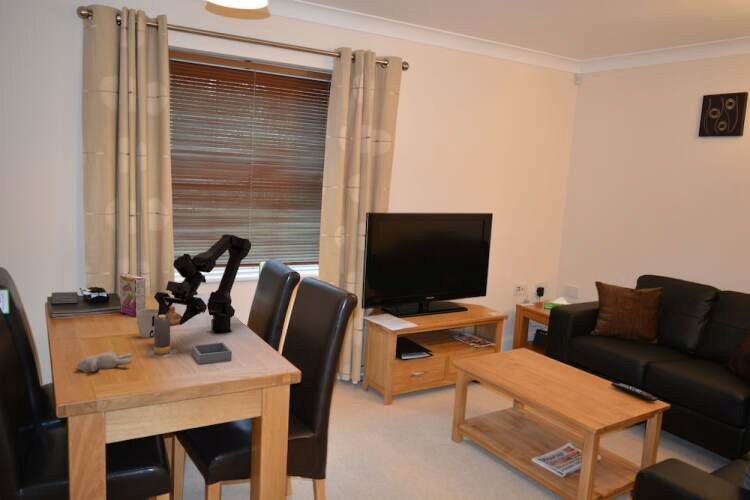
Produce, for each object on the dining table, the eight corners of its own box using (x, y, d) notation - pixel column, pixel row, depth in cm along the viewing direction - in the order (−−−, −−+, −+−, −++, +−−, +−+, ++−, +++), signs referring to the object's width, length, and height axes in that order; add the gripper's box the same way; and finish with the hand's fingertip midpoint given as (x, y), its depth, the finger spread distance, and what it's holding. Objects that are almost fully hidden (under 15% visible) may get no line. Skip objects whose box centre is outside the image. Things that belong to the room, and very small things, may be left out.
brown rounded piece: (149, 321, 232) (149, 303, 231) (178, 317, 239) (178, 300, 238) (157, 328, 223) (157, 310, 222) (187, 324, 230) (188, 307, 229)
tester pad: (174, 349, 198) (174, 346, 198) (180, 358, 190) (180, 355, 190) (144, 352, 193) (144, 350, 193) (148, 362, 185) (148, 359, 184)
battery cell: (168, 349, 195) (168, 313, 193) (171, 354, 190) (171, 316, 189) (152, 351, 192) (152, 314, 190) (155, 356, 188) (155, 318, 186)
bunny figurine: (81, 352, 179) (132, 345, 183) (83, 368, 180) (134, 360, 184) (74, 363, 170) (128, 355, 174) (76, 379, 171) (130, 371, 175)
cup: (152, 342, 205) (152, 315, 204) (132, 339, 207) (131, 313, 205) (164, 336, 213) (164, 310, 211) (145, 333, 214) (145, 307, 213)
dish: (222, 353, 197) (223, 342, 197) (231, 363, 188) (231, 351, 188) (191, 356, 192) (191, 345, 191) (198, 367, 183) (199, 355, 182)
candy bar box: (119, 312, 241) (118, 275, 238) (129, 310, 245) (129, 273, 243) (135, 317, 235) (135, 279, 233) (146, 315, 239) (146, 277, 237)
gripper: (157, 269, 199) (134, 305, 190) (202, 275, 193) (180, 313, 184) (172, 287, 207) (151, 323, 198) (215, 293, 201) (195, 331, 192)
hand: (168, 322), depth 193 cm, fingers open, 9 cm apart
